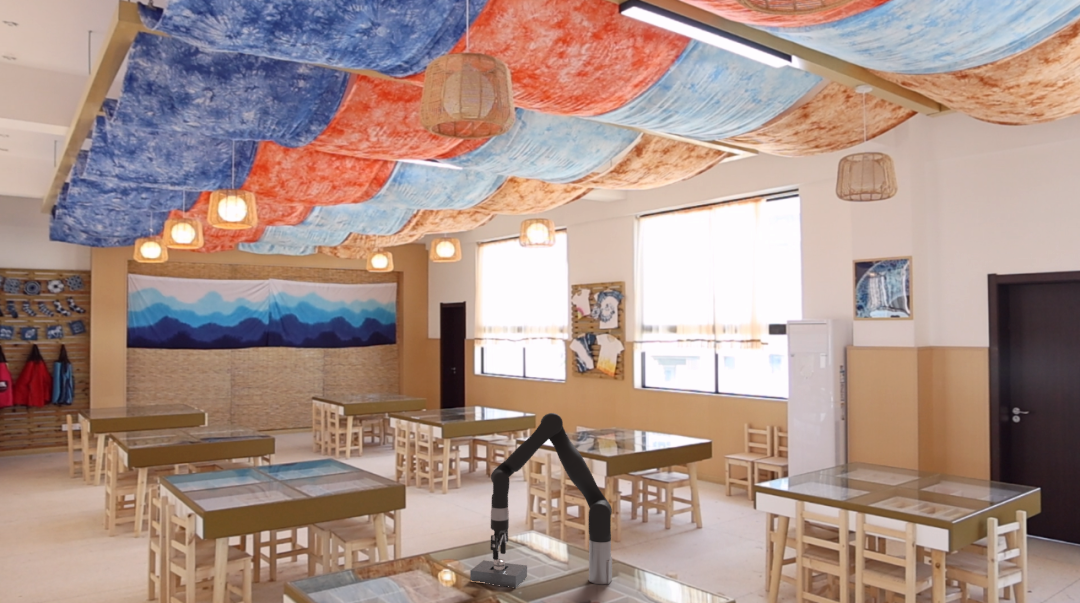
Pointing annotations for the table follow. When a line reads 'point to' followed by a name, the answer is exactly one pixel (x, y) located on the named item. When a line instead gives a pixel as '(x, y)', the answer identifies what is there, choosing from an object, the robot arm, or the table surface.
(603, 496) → the robot arm
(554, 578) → the table surface
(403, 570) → the table surface
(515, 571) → the grey block with hole
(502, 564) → the piston
